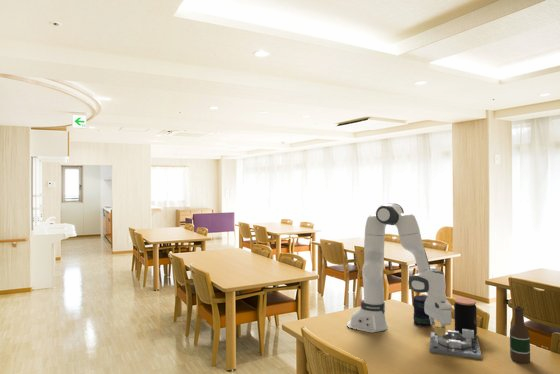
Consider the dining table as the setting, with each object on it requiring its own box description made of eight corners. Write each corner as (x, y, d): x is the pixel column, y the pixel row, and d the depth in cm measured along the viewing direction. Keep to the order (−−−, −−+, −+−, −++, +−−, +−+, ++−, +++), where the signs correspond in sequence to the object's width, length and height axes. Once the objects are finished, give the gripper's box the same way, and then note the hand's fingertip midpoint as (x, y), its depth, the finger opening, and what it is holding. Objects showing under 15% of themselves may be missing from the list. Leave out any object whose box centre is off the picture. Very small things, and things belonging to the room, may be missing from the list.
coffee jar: (479, 338, 200) (478, 303, 200) (457, 337, 202) (456, 303, 202) (473, 331, 210) (472, 298, 210) (452, 330, 212) (451, 297, 212)
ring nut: (435, 345, 187) (434, 332, 187) (434, 334, 201) (434, 321, 201) (475, 350, 181) (475, 336, 181) (472, 338, 194) (472, 325, 194)
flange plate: (429, 352, 185) (429, 340, 185) (431, 335, 205) (430, 324, 205) (481, 359, 176) (481, 346, 176) (477, 341, 197) (477, 329, 197)
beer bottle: (506, 356, 178) (505, 304, 178) (522, 355, 179) (520, 304, 179) (518, 364, 170) (516, 310, 170) (534, 363, 171) (533, 309, 171)
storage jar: (432, 327, 216) (431, 301, 216) (413, 326, 220) (413, 299, 220) (431, 321, 226) (430, 296, 226) (413, 320, 229) (412, 295, 229)
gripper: (420, 295, 209) (421, 321, 209) (441, 307, 189) (442, 335, 189) (431, 295, 210) (432, 320, 210) (453, 306, 189) (454, 334, 189)
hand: (437, 327), depth 199 cm, fingers open, 8 cm apart
